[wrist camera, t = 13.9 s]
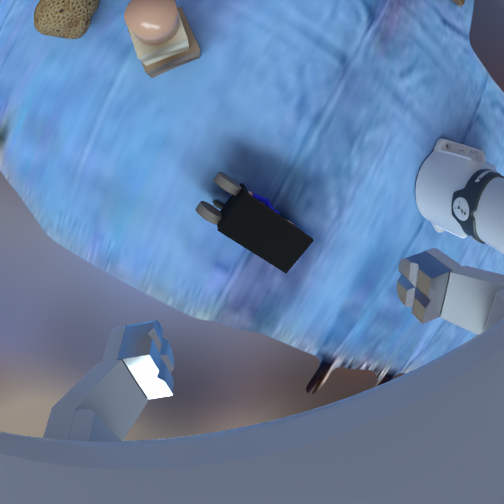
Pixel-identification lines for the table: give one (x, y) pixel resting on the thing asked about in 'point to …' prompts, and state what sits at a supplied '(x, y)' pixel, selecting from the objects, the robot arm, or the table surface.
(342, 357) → the table surface
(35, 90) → the table surface
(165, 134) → the table surface
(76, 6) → the natural sponge
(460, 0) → the stone cup
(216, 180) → the toy car
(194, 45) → the tower base
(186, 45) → the tower top
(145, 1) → the tan rounded cylinder
